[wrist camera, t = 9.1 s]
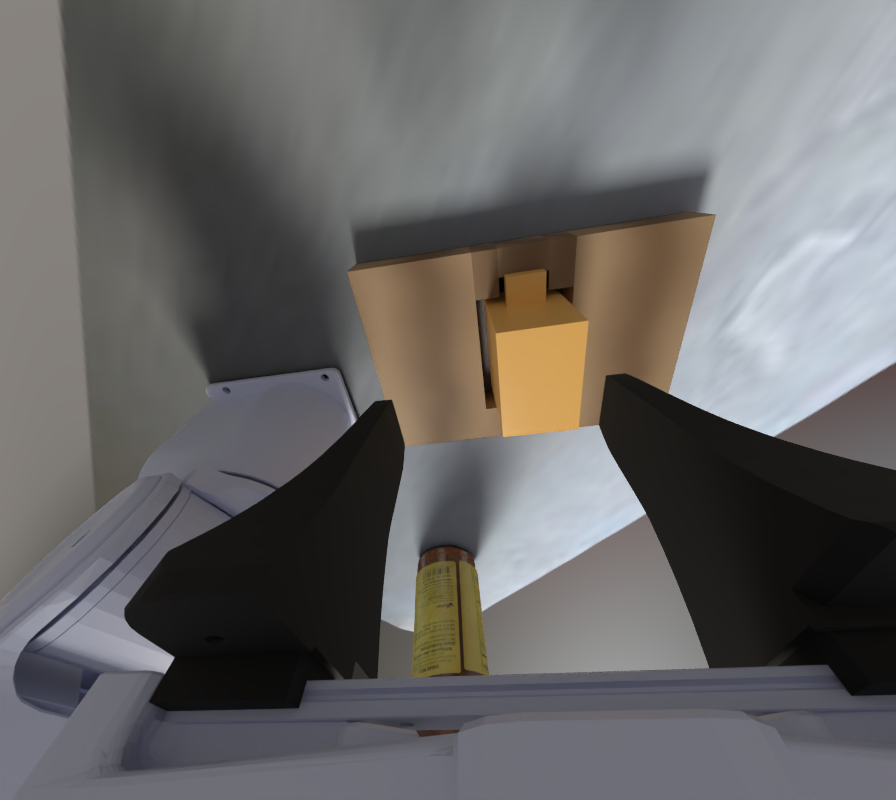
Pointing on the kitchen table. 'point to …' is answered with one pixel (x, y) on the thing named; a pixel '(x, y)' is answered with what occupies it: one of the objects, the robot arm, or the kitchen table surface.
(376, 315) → the pocket board
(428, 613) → the sauce bottle
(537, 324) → the block
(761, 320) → the kitchen table surface
